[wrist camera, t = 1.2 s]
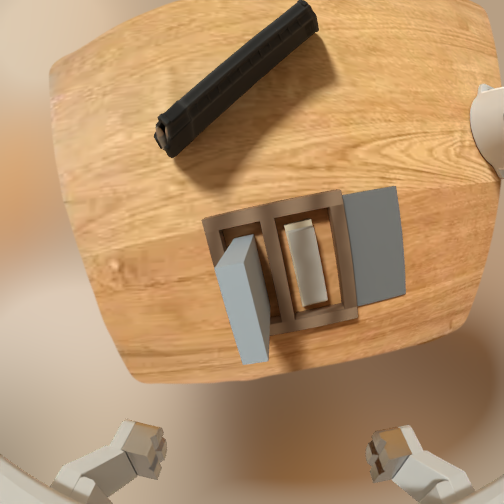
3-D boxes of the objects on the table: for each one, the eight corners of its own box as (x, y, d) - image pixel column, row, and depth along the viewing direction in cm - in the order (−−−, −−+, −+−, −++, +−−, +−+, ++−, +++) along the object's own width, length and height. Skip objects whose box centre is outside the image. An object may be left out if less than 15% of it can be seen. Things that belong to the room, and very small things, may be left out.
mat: (394, 186, 38) (395, 186, 38) (404, 292, 43) (405, 293, 42) (341, 195, 40) (342, 195, 39) (356, 304, 44) (357, 306, 43)
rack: (336, 189, 39) (340, 190, 37) (354, 310, 44) (358, 317, 42) (205, 217, 42) (201, 219, 40) (237, 333, 46) (235, 341, 44)
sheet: (253, 233, 42) (243, 262, 28) (270, 306, 45) (268, 361, 30) (234, 238, 42) (214, 268, 28) (252, 309, 45) (242, 364, 31)
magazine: (319, -14, 24) (129, 96, 22) (337, -1, 24) (149, 115, 22) (290, 48, 41) (159, 149, 39) (303, 59, 41) (173, 163, 39)
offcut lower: (309, 217, 42) (311, 219, 40) (325, 295, 44) (327, 300, 42) (283, 223, 42) (284, 225, 40) (301, 301, 45) (302, 306, 43)
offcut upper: (311, 225, 40) (313, 227, 38) (325, 294, 42) (327, 299, 40) (287, 231, 40) (288, 233, 38) (303, 299, 43) (304, 305, 41)
